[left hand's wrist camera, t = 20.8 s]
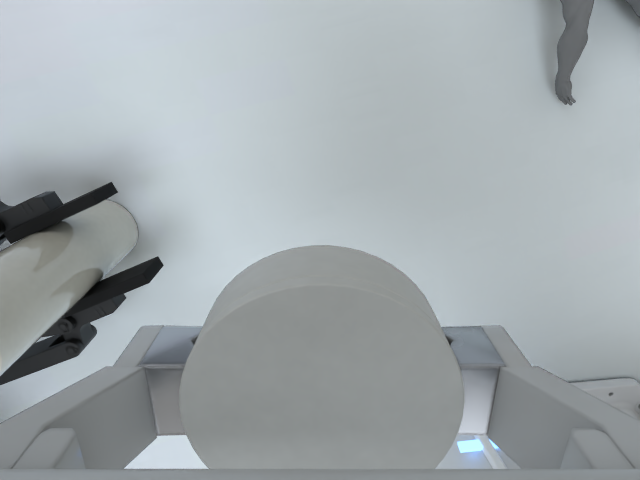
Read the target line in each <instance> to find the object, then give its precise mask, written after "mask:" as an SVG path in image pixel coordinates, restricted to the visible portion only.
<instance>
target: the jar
mask: <svg viewBox="0 0 640 480" xmlns="http://www.w3.org/2000/svg"><path fill="white" fill-rule="evenodd" d="M137 240H138V228H137V225H136V222H135V220H134V218H133V217H132V215H131V214H130V213H129V212H128V211H127V210H126V209H125V208H124V207H122V206H121V205H119V204H117V203H115V202H112V201H109V200H104V201H102V202H100V203H99V204H97V205H95V206H92V207H90V208H88V209H86V210H84V211H81V212H79V213H77V214H75V215H73V216H71V217H68V218H66V219H64V220H62V221H60V222H57V223H55V224H53V225H51V226H49V227H47V228H44V229H42V230H40V231H38V232H36V233H33V234H31V235H29V236H27V237H25V238H23V239H21V240H19V241H18V242H16V243H14V244H12V245H11V246H9V247H7V248H5V249H3V250H2V251H0V376H1V375H2V374H3V373H4V372H5V371H6V370H7V369H8V368H9V367H10V366H11V365H12V364H14V363H15V362H16V361H17V360H18V359H19V358H20V357H21V356H22V355H23V354H24V353H25V352H26V351H27V350H28V349H29V348H30V347H31V346H32V345H33V344H34V343H35V342H37V341H38V340H39V339H40V338H41V337H42V336H43V335H44V334H45V333H46V332H47V331H48V330H49V329H50V328H51V327H52V326H53V325H54V324H55V323H56V322H57V321H59V320H60V319H61V318H62V317H63V316H64V315H65V314H66V313H67V312H68V311H69V310H70V309H71V308H72V307H73V306H74V305H75V304H76V303H77V302H78V301H79V300H81V299H82V298H83V297H84V296H85V295H86V294H87V293H88V292H89V291H90V290H91V289H92V288H93V287H94V286H95V285H96V284H97V283H98V282H99V281H100V280H101V279H102V278H104V277H105V276H106V275H107V274H108V273H109V272H110V271H111V270H112V269H113V268H114V267H115V266H116V265H117V264H118V263H119V262H120V261H121V260H122V259H123V258H124V257H126V256H127V255H128V254H129V253H130V252H131V251H132V250H133V248H134V247H135V245H136V243H137Z"/></svg>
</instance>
